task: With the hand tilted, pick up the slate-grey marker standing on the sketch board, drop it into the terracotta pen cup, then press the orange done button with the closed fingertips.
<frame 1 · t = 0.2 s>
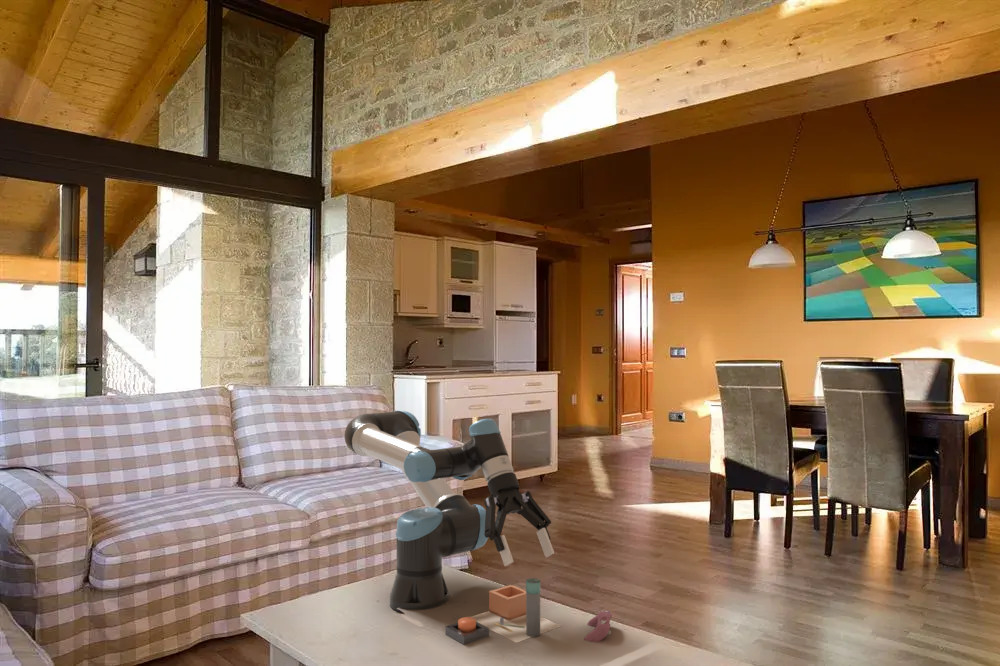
hand: (530, 559, 168), 15 cm above the table, tool tilted 35°, fingers open, 13 cm apart
marker: (533, 633, 159), point 1 cm above the table, touching sketch board
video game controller: (598, 639, 160), on the table
sketch board: (513, 626, 166), on the table
button housing: (467, 640, 159), on the table
pen cup: (509, 612, 172), resting on sketch board
done button: (467, 625, 159), point 3 cm above the table, slide at 0.0 cm
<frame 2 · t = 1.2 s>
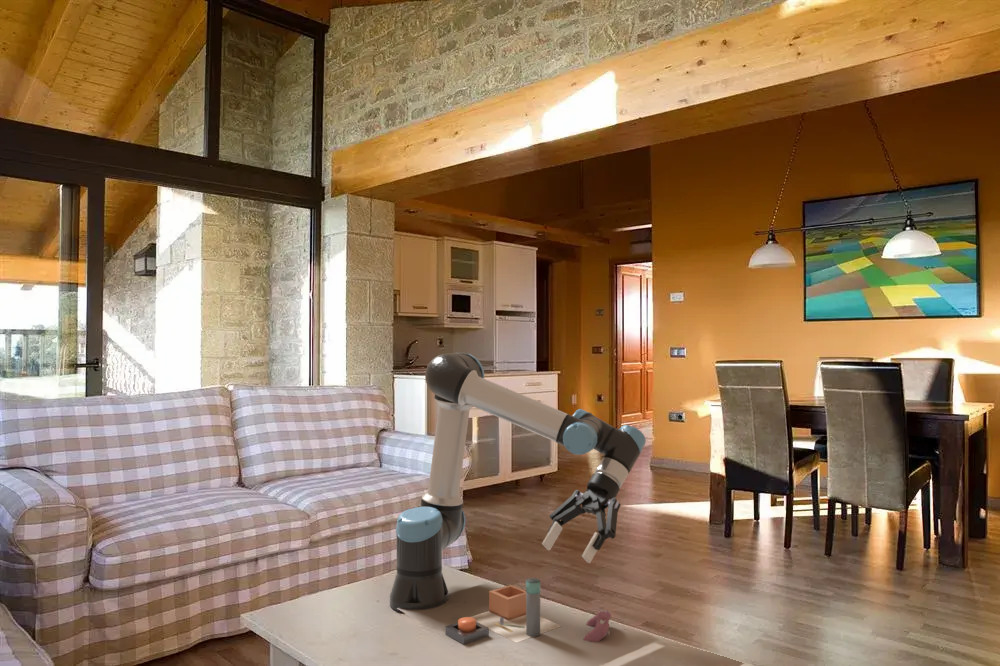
hand: (564, 553, 166), 17 cm above the table, tool tilted 45°, fingers open, 13 cm apart
nothing on the table moved.
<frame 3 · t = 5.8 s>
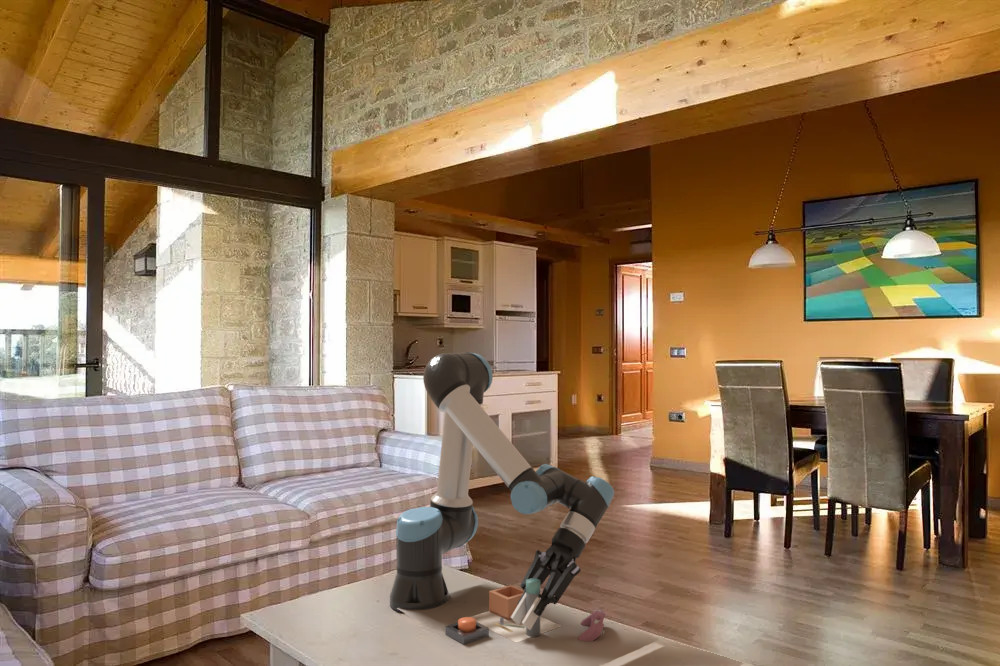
hand: (520, 623, 157), 5 cm above the table, tool tilted 45°, fingers closed on marker, 3 cm apart
marker: (533, 633, 159), point 1 cm above the table, touching gripper, sketch board
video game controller: (592, 638, 160), on the table
everything else where it was.
when the fingers open (8 cm above the table, at t = 10.4 s): marker drops 2 cm, resting on pen cup.
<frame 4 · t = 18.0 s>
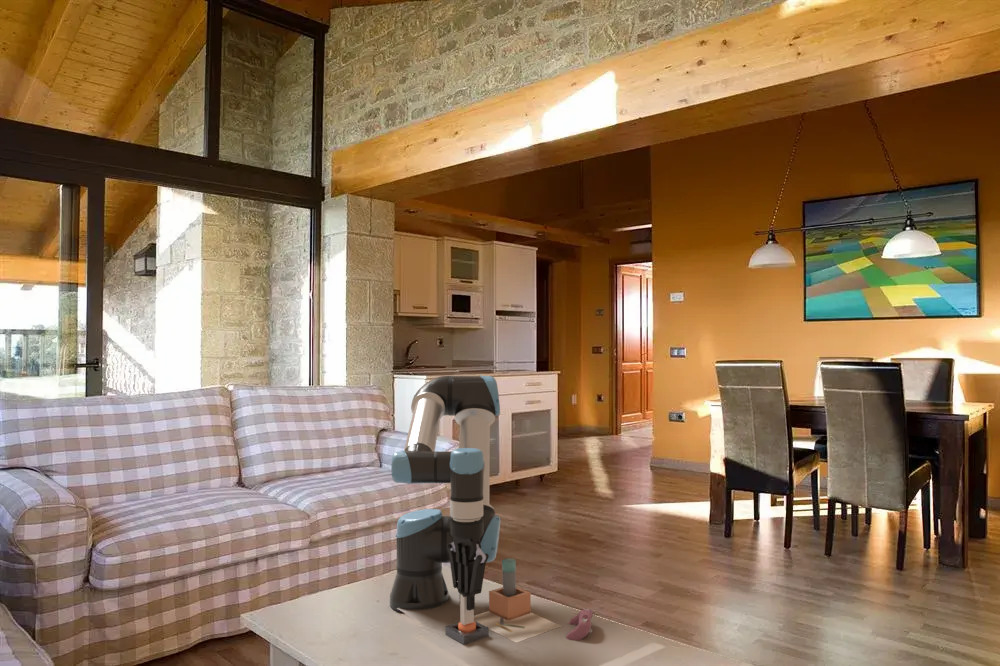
hand: (467, 622, 159), 4 cm above the table, tool pointing down, fingers closed
marker: (510, 609, 172), point 2 cm above the table, touching pen cup
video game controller: (579, 637, 161), on the table
done button: (467, 628, 159), point 3 cm above the table, slide at 0.7 cm
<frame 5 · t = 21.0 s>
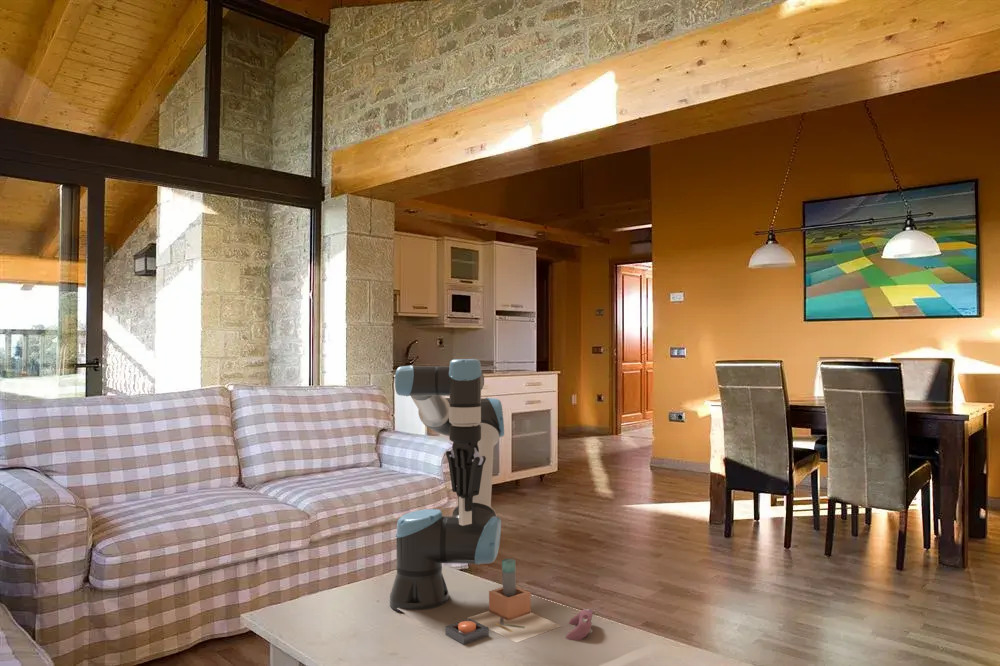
hand: (465, 523, 166), 24 cm above the table, tool pointing down, fingers closed
nothing on the table moved.
at the end: marker 0.1 cm off-centre on the pen cup, point 0.6 cm above the pen cup's base; marker tilted 1°; done button slide at 0.9 cm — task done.
